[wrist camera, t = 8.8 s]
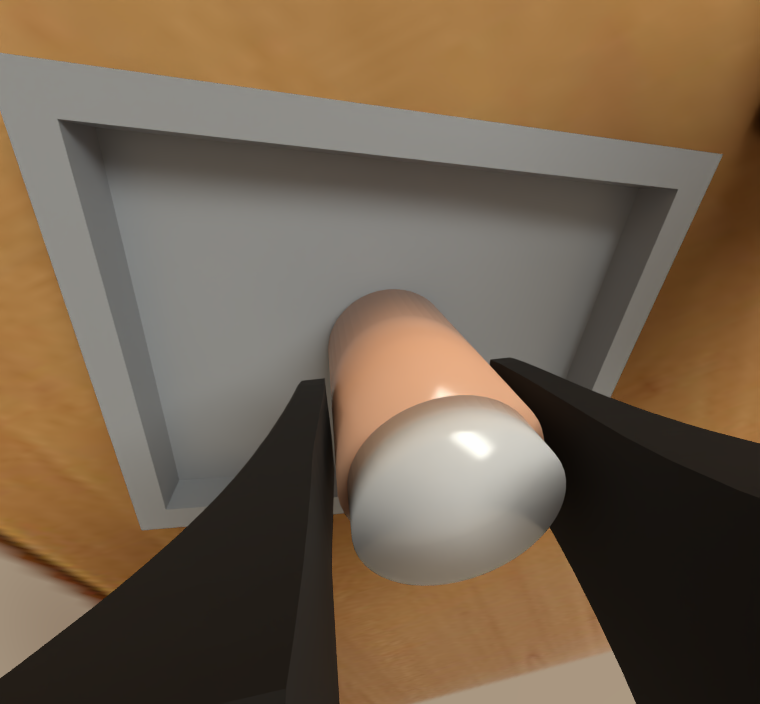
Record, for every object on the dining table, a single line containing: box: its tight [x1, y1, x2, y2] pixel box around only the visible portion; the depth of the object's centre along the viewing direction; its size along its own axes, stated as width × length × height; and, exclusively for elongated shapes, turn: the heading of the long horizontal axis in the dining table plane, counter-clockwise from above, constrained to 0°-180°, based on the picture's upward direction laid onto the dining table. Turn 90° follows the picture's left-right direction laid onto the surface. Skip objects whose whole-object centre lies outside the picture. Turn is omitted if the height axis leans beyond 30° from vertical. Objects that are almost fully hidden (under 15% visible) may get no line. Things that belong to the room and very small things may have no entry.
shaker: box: [328, 289, 566, 586], centre depth 9 cm, size 4×4×7 cm
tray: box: [0, 53, 723, 530], centre depth 12 cm, size 18×14×2 cm
